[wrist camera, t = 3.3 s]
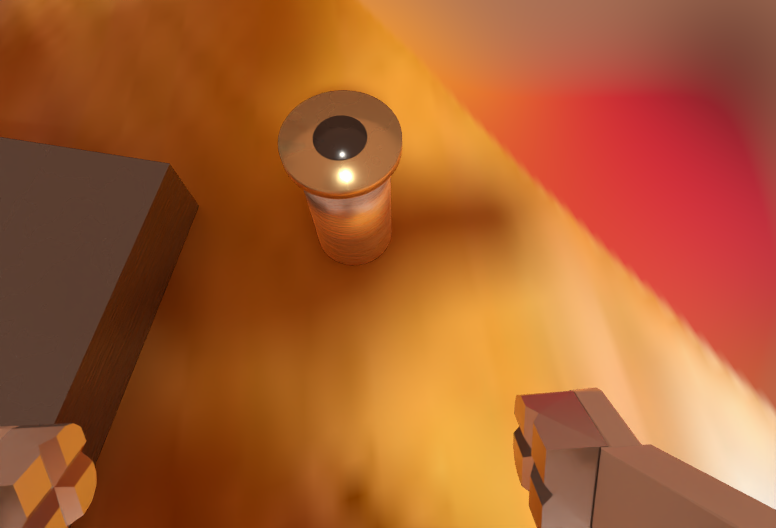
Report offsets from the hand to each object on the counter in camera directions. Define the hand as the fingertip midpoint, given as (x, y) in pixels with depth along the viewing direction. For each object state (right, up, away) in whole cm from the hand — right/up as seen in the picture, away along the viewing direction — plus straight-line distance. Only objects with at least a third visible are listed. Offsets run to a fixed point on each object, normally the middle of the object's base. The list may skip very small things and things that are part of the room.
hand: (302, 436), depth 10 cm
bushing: (0, +5, +18) cm, 19 cm away
